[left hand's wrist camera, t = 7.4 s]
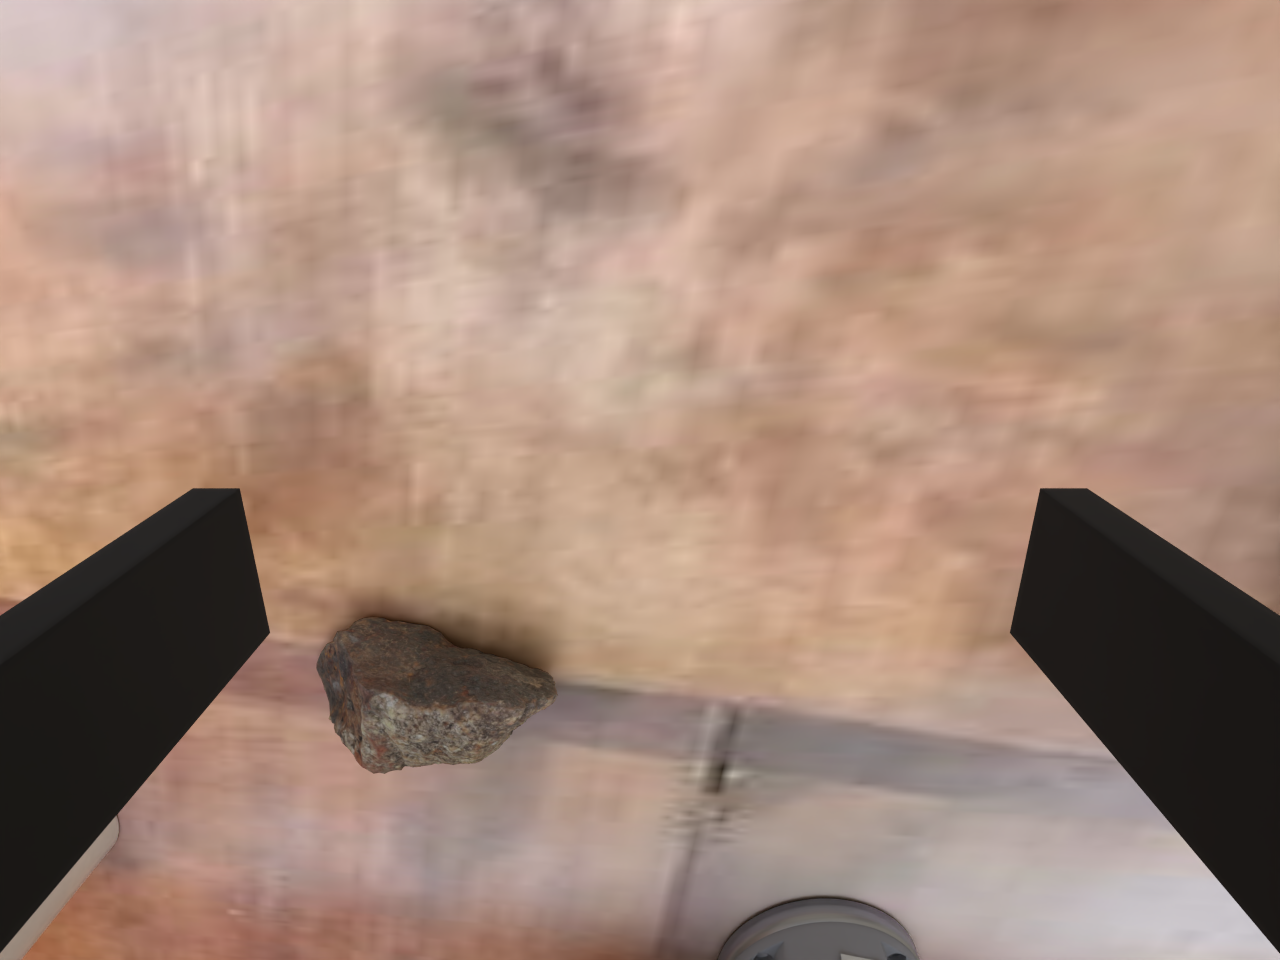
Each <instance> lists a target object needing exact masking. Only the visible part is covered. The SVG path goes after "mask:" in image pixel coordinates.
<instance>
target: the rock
mask: <svg viewBox="0 0 1280 960" xmlns="http://www.w3.org/2000/svg"><path fill="white" fill-rule="evenodd" d="M317 671H318V673H319V676H320V677H321V679H322V682H323V685H324V689H325V691H326V693H327V697H328V700H329V705H330V716H329V719H330V720H331V721H332V723H334V729H335V733H337V734H338V735H339V736H340V737H341V740H342V743H343V744H344V745H345V746H346V747H347V748H348V749H349V750H350V751H351V752H352V754H353V755H354V757H355V759H356V761H357V762H358V763H359V764H360V765H361V766H362V767H363V768H365V769H367V770H369V771H370V772H372V773H384V774H385V773H387V772H389V771H393V770H402V768H403V767H404V766H410V767H420V766H426V765H432V764H434V763H436V764H441V763H444V764H451V765H454V764H460V763H463V764H470V763H477V762H479V761H481V760H482V759H483V758H484V757H487V756H488V755H490V754H492V753H493V752H494V751H496V750H497V749H498V748H499V747H500V746H501V745H502V744H503V742H504V741H506V740H507V739H508V738H509V737H510V735H511V734H512V731H513V730H514V729H516V728H517V727H518V726H521V724H523V723H524V722H526V720H527V719H528V718H529V717H531V716H532V715H533V714H535V713H537V712H539V711H540V710H544V709H545V708H546V707H548V706H550V705H551V704H553V702H554V701H555V699H556V697H557V696H558V694H557V691H556V688H555V682H554V681H553V678H552V677H551V676H550V675H549V674H548V673H547V672H544V671H542V670H540V669H534V668H530V667H528V666H526V665H523V664H520V663H516V662H513V661H511V660H509V659H507V658H502V657H497V656H495V655H493V654H484V653H483V652H481V651H479V650H475V649H464V648H459V647H457V646H455V645H453V644H452V643H451V642H449V641H448V640H447V639H446V638H445V637H444V636H443V635H442V634H441V632H438V631H436V630H435V629H433V628H431V627H429V626H426V625H417V624H411V623H405V622H400V621H389V620H387V619H385V618H378V617H368V618H362V619H360V620H358V621H356V622H354V623H353V625H352V626H351V627H350V628H349V629H348V630H344V631H338V632H337V633H336V636H335V638H334V640H333V642H331V643H328V644H327V645H326V646H325V648H324V649H323V651H322V652H321V654H320V657H319V659H318V662H317Z"/></svg>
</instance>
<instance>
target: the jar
mask: <svg viewBox="0 0 1280 960" xmlns="http://www.w3.org/2000/svg"><path fill="white" fill-rule="evenodd" d="M118 834H119V822H118V818H117V815H116V816H115V818H114V819H113V820H112V821H111V822H110V823H109V825H108V826H107V827H106V828H105V829H104V831H103V832H102V833H101V834H100V835H99V837H98V838H97V839H96V840H95V841H94V842H93V844H92V845H91V846H90V847H89V848H88V850H87V851H86V852H85V853H84V854H83V856H82V857H81V858H80V859H79V860H78V862H77V863H76V864H75V865H74V866H73V867H72V869H71V870H70V871H69V872H68V873H67V875H66V876H65V877H64V878H63V879H62V881H61V882H60V883H59V884H58V885H57V886H56V888H55V889H54V890H53V891H52V892H51V894H50V895H49V896H48V897H47V898H46V900H45V901H44V902H43V903H42V904H41V905H40V907H39V908H38V909H37V910H36V911H35V913H34V914H33V915H32V916H31V917H30V919H29V920H28V921H27V922H26V923H25V924H24V926H23V927H22V928H21V929H20V930H19V932H18V933H17V934H16V935H15V936H14V938H13V939H12V940H11V941H10V942H9V943H8V945H7V946H6V947H5V948H4V949H3V951H2V952H1V953H0V960H22V959H23V958H24V957H25V955H26V954H27V953H28V952H29V950H30V949H31V948H32V947H33V945H34V944H35V943H36V942H37V940H38V939H39V938H40V937H41V935H42V934H43V933H44V932H45V931H46V929H47V928H48V927H49V926H50V924H51V923H52V922H53V921H54V919H55V918H56V917H57V916H58V914H59V913H60V912H61V911H62V909H63V908H64V907H65V906H66V904H67V903H68V902H69V901H70V900H71V898H72V897H73V896H74V895H75V893H76V892H77V891H78V890H79V888H80V887H81V886H82V885H83V883H84V882H85V881H86V880H87V878H88V877H89V876H90V875H91V873H92V872H93V871H94V870H95V869H96V867H97V866H98V865H99V864H100V862H101V861H102V860H103V859H104V857H105V856H106V855H107V854H108V852H109V851H110V850H111V849H112V847H113V846H114V845H115V843H116V841H117V838H118Z"/></svg>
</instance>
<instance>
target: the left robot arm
mask: <svg viewBox="0 0 1280 960" xmlns="http://www.w3.org/2000/svg"><path fill="white" fill-rule="evenodd" d="M269 633H270V630H269V626H268V621H267V616H266V611H265V607H264V602H263V597H262V592H261V588H260V583H259V578H258V573H257V569H256V564H255V559H254V554H253V550H252V545H251V540H250V535H249V531H248V526H247V521H246V516H245V512H244V507H243V502H242V497H241V493H240V488H193V489H191V490H190V491H188V492H187V493H185V494H184V495H182V496H181V497H179V498H178V499H176V500H175V501H173V502H172V503H170V504H169V505H167V506H166V507H164V508H163V509H161V510H160V511H158V512H157V513H155V514H154V515H152V516H151V517H149V518H147V519H146V520H144V521H143V522H141V523H140V524H138V525H137V526H135V527H134V528H132V529H131V530H129V531H128V532H126V533H125V534H123V535H122V536H120V537H119V538H117V539H116V540H114V541H113V542H111V543H110V544H108V545H107V546H105V547H104V548H102V549H101V550H99V551H98V552H96V553H95V554H93V555H91V556H90V557H88V558H87V559H85V560H84V561H82V562H81V563H79V564H78V565H76V566H75V567H73V568H72V569H70V570H69V571H67V572H66V573H64V574H63V575H61V576H60V577H58V578H57V579H55V580H54V581H52V582H51V583H49V584H48V585H46V586H45V587H43V588H42V589H40V590H38V591H37V592H35V593H34V594H32V595H31V596H29V597H28V598H26V599H25V600H23V601H22V602H20V603H19V604H17V605H16V606H14V607H13V608H11V609H10V610H8V611H7V612H5V613H4V614H2V615H1V616H0V953H1V952H2V951H3V949H4V948H5V947H6V946H7V945H8V943H9V942H10V941H11V940H12V939H13V938H14V936H15V935H16V934H17V933H18V932H19V930H20V929H21V928H22V927H23V926H24V924H25V923H26V922H27V921H28V920H29V919H30V917H31V916H32V915H33V914H34V913H35V911H36V910H37V909H38V908H39V907H40V905H41V904H42V903H43V902H44V901H45V900H46V898H47V897H48V896H49V895H50V894H51V892H52V891H53V890H54V889H55V888H56V886H57V885H58V884H59V883H60V882H61V881H62V879H63V878H64V877H65V876H66V875H67V873H68V872H69V871H70V870H71V869H72V867H73V866H74V865H75V864H76V863H77V862H78V860H79V859H80V858H81V857H82V856H83V854H84V853H85V852H86V851H87V850H88V848H89V847H90V846H91V845H92V844H93V842H94V841H95V840H96V839H97V838H98V837H99V835H100V834H101V833H102V832H103V831H104V829H105V828H106V827H107V826H108V825H109V823H110V822H111V821H112V820H113V819H114V818H115V816H116V815H117V814H118V813H119V812H120V810H121V809H122V808H123V807H124V806H125V804H126V803H127V802H128V801H129V800H130V799H131V797H132V796H133V795H134V794H135V793H136V791H137V790H138V789H139V788H140V787H141V785H142V784H143V783H144V782H145V781H146V780H147V778H148V777H149V776H150V775H151V774H152V772H153V771H154V770H155V769H156V768H157V766H158V765H159V764H160V763H161V762H162V761H163V759H164V758H165V757H166V756H167V755H168V753H169V752H170V751H171V750H172V749H173V747H174V746H175V745H176V744H177V743H178V742H179V740H180V739H181V738H182V737H183V736H184V734H185V733H186V732H187V731H188V730H189V728H190V727H191V726H192V725H193V724H194V723H195V721H196V720H197V719H198V718H199V717H200V715H201V714H202V713H203V712H204V711H205V709H206V708H207V707H208V706H209V705H210V703H211V702H212V701H213V700H214V699H215V698H216V696H217V695H218V694H219V693H220V692H221V690H222V689H223V688H224V687H225V686H226V684H227V683H228V682H229V681H230V680H231V679H232V677H233V676H234V675H235V674H236V673H237V671H238V670H239V669H240V668H241V667H242V665H243V664H244V663H245V662H246V661H247V660H248V658H249V657H250V656H251V655H252V654H253V652H254V651H255V650H256V649H257V648H258V646H259V645H260V644H261V643H262V642H263V641H264V639H265V638H266V637H267V636H268V635H269ZM1010 633H1011V635H1012V636H1013V637H1014V638H1015V639H1016V641H1017V642H1018V643H1019V644H1020V645H1021V646H1022V648H1023V649H1024V650H1025V651H1026V652H1027V654H1028V655H1029V656H1030V657H1031V658H1032V660H1033V661H1034V662H1035V663H1036V664H1037V665H1038V667H1039V668H1040V669H1041V670H1042V671H1043V673H1044V674H1045V675H1046V676H1047V677H1048V679H1049V680H1050V681H1051V682H1052V683H1053V684H1054V686H1055V687H1056V688H1057V689H1058V690H1059V692H1060V693H1061V694H1062V695H1063V696H1064V698H1065V699H1066V700H1067V701H1068V702H1069V703H1070V705H1071V706H1072V707H1073V708H1074V709H1075V711H1076V712H1077V713H1078V714H1079V715H1080V717H1081V718H1082V719H1083V720H1084V721H1085V723H1086V724H1087V725H1088V726H1089V727H1090V728H1091V730H1092V731H1093V732H1094V733H1095V734H1096V736H1097V737H1098V738H1099V739H1100V740H1101V742H1102V743H1103V744H1104V745H1105V746H1106V747H1107V749H1108V750H1109V751H1110V752H1111V753H1112V755H1113V756H1114V757H1115V758H1116V759H1117V761H1118V762H1119V763H1120V764H1121V765H1122V766H1123V768H1124V769H1125V770H1126V771H1127V772H1128V774H1129V775H1130V776H1131V777H1132V778H1133V780H1134V781H1135V782H1136V783H1137V784H1138V785H1139V787H1140V788H1141V789H1142V790H1143V791H1144V793H1145V794H1146V795H1147V796H1148V797H1149V799H1150V800H1151V801H1152V802H1153V803H1154V804H1155V806H1156V807H1157V808H1158V809H1159V810H1160V812H1161V813H1162V814H1163V815H1164V816H1165V818H1166V819H1167V820H1168V821H1169V822H1170V823H1171V825H1172V826H1173V827H1174V828H1175V829H1176V831H1177V832H1178V833H1179V834H1180V835H1181V837H1182V838H1183V839H1184V840H1185V841H1186V842H1187V844H1188V845H1189V846H1190V847H1191V848H1192V850H1193V851H1194V852H1195V853H1196V854H1197V856H1198V857H1199V858H1200V859H1201V860H1202V862H1203V863H1204V864H1205V865H1206V866H1207V867H1208V869H1209V870H1210V871H1211V872H1212V873H1213V875H1214V876H1215V877H1216V878H1217V879H1218V881H1219V882H1220V883H1221V884H1222V885H1223V886H1224V888H1225V889H1226V890H1227V891H1228V892H1229V894H1230V895H1231V896H1232V897H1233V898H1234V900H1235V901H1236V902H1237V903H1238V904H1239V905H1240V907H1241V908H1242V909H1243V910H1244V911H1245V913H1246V914H1247V915H1248V916H1249V917H1250V919H1251V920H1252V921H1253V922H1254V923H1255V924H1256V926H1257V927H1258V928H1259V929H1260V930H1261V932H1262V933H1263V934H1264V935H1265V936H1266V938H1267V939H1268V940H1269V941H1270V942H1271V943H1272V945H1273V946H1274V947H1275V948H1276V949H1277V951H1278V952H1279V953H1280V616H1279V615H1278V614H1276V613H1275V612H1273V611H1272V610H1270V609H1269V608H1267V607H1266V606H1264V605H1263V604H1261V603H1260V602H1258V601H1257V600H1255V599H1254V598H1252V597H1251V596H1249V595H1248V594H1246V593H1245V592H1243V591H1242V590H1240V589H1238V588H1237V587H1235V586H1234V585H1232V584H1231V583H1229V582H1228V581H1226V580H1225V579H1223V578H1222V577H1220V576H1219V575H1217V574H1216V573H1214V572H1213V571H1211V570H1210V569H1208V568H1207V567H1205V566H1204V565H1202V564H1201V563H1199V562H1198V561H1196V560H1195V559H1193V558H1192V557H1190V556H1189V555H1187V554H1185V553H1184V552H1182V551H1181V550H1179V549H1178V548H1176V547H1175V546H1173V545H1172V544H1170V543H1169V542H1167V541H1166V540H1164V539H1163V538H1161V537H1160V536H1158V535H1157V534H1155V533H1154V532H1152V531H1151V530H1149V529H1148V528H1146V527H1145V526H1143V525H1142V524H1140V523H1139V522H1137V521H1136V520H1134V519H1132V518H1131V517H1129V516H1128V515H1126V514H1125V513H1123V512H1122V511H1120V510H1119V509H1117V508H1116V507H1114V506H1113V505H1111V504H1110V503H1108V502H1107V501H1105V500H1104V499H1102V498H1101V497H1099V496H1098V495H1096V494H1095V493H1093V492H1092V491H1090V490H1089V489H1087V488H1040V493H1039V497H1038V502H1037V507H1036V512H1035V516H1034V521H1033V526H1032V531H1031V535H1030V540H1029V545H1028V550H1027V554H1026V559H1025V564H1024V569H1023V573H1022V578H1021V583H1020V588H1019V592H1018V597H1017V602H1016V607H1015V611H1014V616H1013V621H1012V626H1011V630H1010ZM718 960H920V959H919V956H918V953H917V951H916V948H915V945H914V943H913V941H912V939H911V937H910V936H909V934H908V933H907V931H906V930H905V929H904V928H903V927H902V926H901V925H900V924H899V923H898V922H897V921H896V920H895V919H893V918H892V917H890V916H889V915H887V914H886V913H884V912H882V911H880V910H878V909H876V908H874V907H871V906H868V905H865V904H862V903H858V902H854V901H849V900H841V899H826V898H824V899H809V900H801V901H796V902H791V903H787V904H784V905H781V906H778V907H775V908H772V909H770V910H767V911H765V912H763V913H761V914H759V915H757V916H755V917H754V918H752V919H751V920H749V921H748V922H746V923H745V924H744V925H742V926H741V927H740V928H739V929H738V930H737V931H736V932H735V933H734V934H733V935H732V936H731V937H730V938H729V939H728V941H727V942H726V943H725V945H724V947H723V948H722V950H721V952H720V955H719V957H718Z"/></svg>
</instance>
